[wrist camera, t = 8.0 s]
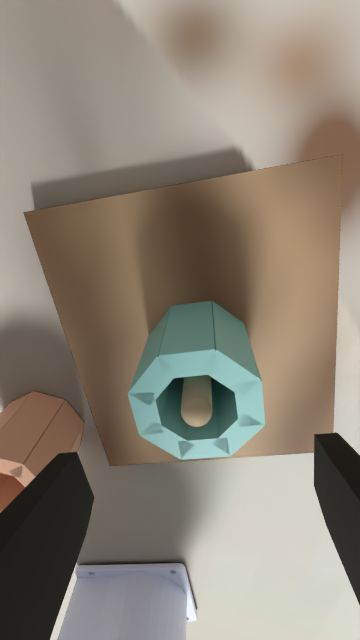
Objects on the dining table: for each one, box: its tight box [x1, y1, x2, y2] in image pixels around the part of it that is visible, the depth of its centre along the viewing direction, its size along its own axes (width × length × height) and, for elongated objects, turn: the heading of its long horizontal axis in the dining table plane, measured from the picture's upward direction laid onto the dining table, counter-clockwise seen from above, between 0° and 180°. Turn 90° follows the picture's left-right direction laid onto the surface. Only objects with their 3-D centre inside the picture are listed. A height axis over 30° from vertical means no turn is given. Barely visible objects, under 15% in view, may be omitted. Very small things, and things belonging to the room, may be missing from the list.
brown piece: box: [23, 154, 343, 466], centre depth 14 cm, size 14×16×7 cm
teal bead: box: [128, 301, 265, 460], centre depth 14 cm, size 5×5×5 cm
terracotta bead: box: [0, 391, 84, 513], centre depth 18 cm, size 5×5×5 cm
